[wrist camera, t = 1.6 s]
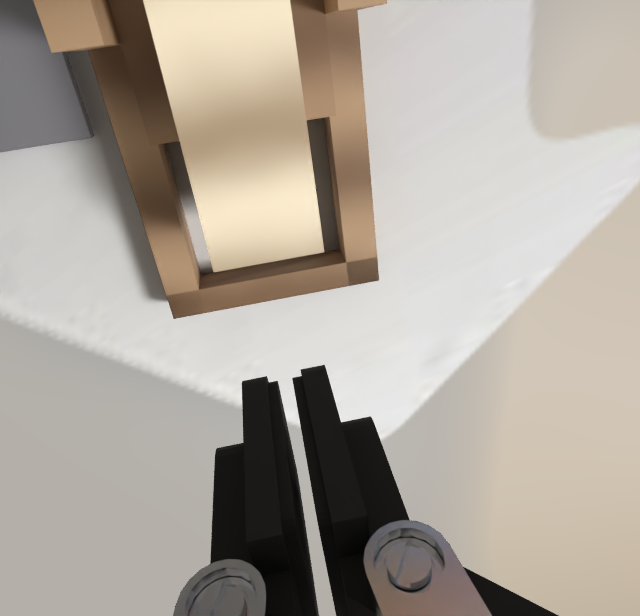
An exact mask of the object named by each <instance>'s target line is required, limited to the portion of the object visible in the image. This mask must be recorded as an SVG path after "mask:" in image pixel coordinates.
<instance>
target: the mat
mask: <svg viewBox="0 0 640 616" xmlns="http://www.w3.org/2000/svg"><path fill="white" fill-rule="evenodd" d="M93 136H94V134H93V131H92V128H91V125H90V122H89V119H88V116H87V113H86V111H85V108H84V105H83V102H82V99H81V96H80V93H79V90H78V87H77V84H76V81H75V78H74V75H73V72H72V69H71V66H70V63H69V60H68V57H67V55H66V52H56V53H52V52H51V50H50V47H49V44H48V41H47V38H46V35H45V32H44V30H43V27H42V24H41V21H40V18H39V15H38V13H37V10H36V7H35V4H34V1H33V0H0V152H5V151H11V150H17V149H24V148H30V147H36V146H42V145H49V144H55V143H61V142H67V141H73V140H80V139H86V138H91V137H93Z"/></svg>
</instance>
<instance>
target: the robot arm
mask: <svg viewBox="0 0 640 616" xmlns="http://www.w3.org/2000/svg"><path fill="white" fill-rule="evenodd" d="M301 374H302V376H300V377H295V378H293V384H294V390H295V396H296V401H297V407H298V413H299V418H300V424H301V430H302V435H303V441H304V447H305V452H306V458H307V464H308V470H309V475H310V481H311V487H312V493H313V498H314V504H315V509H316V515H317V521H318V526H319V531H320V536H321V542H322V546H323V551H324V556H325V561H326V566H327V571H328V576H329V581H330V586H331V591H332V596H333V601H334V606H335V611H336V616H558V615H556V614H554V613H552V612H550V611H548V610H546V609H544V608H542V607H540V606H538V605H536V604H534V603H533V602H531V601H529V600H527V599H525V598H523V597H521V596H519V595H517V594H515V593H513V592H511V591H509V590H507V589H505V588H503V587H501V586H499V585H497V584H496V583H494V582H492V581H490V580H488V579H486V578H484V577H482V576H480V575H478V574H476V573H474V572H472V571H470V570H468V569H466V568H464V567H463V566H462V565H461V563H460V561H459V560H458V558H457V556H456V555H455V553H454V551H453V550H452V548H451V546H450V544H449V543H448V542H447V541H446V539H445V538H444V537H443V536H442V535H441V533H439V532H438V531H436V530H435V529H434V528H432V527H431V526H429V525H426V524H423V523H421V522H418V521H410V520H409V517H408V515H407V512H406V509H405V506H404V504H403V501H402V499H401V496H400V493H399V490H398V487H397V485H396V482H395V479H394V477H393V474H392V471H391V468H390V466H389V463H388V461H387V458H386V455H385V452H384V449H383V446H382V444H381V441H380V438H379V436H378V433H377V430H376V427H375V425H374V422H373V420H372V418H371V417H366V418H361V419H356V420H351V421H347V422H342V423H341V421H340V418H339V414H338V410H337V407H336V403H335V400H334V396H333V393H332V389H331V386H330V382H329V378H328V375H327V371H326V368H325V365H322V366H317V367H312V368H307V369H302V370H301ZM242 403H243V440H244V443H241V444H236V445H231V446H226V447H221V448H217V449H216V454H215V471H214V493H213V519H212V541H211V563H210V565H208V566H206V567H204V568H202V569H201V570H199V571H198V572H197V573H196V574H195V575H194V576H193V577H192V578H191V579H190V580H189V581H188V582H187V584H186V585H185V587H184V588H183V590H182V591H181V592H180V595H179V598H178V601H177V603H176V606H175V610H174V614H173V616H319V614H318V608H317V601H316V594H315V587H314V580H313V573H312V567H311V560H310V554H309V546H308V540H307V533H306V527H305V520H304V513H303V506H302V500H301V493H300V486H299V480H298V474H297V469H296V464H295V460H294V455H293V450H292V445H291V441H290V436H289V432H288V427H287V422H286V417H285V413H284V408H283V404H282V399H281V394H280V390H279V385H278V381H275V382H270V383H269V382H268V379H267V376H266V377H261V378H256V379H251V380H246V381H242Z"/></svg>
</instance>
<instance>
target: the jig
mask: <svg viewBox="0 0 640 616" xmlns="http://www.w3.org/2000/svg"><path fill="white" fill-rule="evenodd" d="M33 1H34V4H35V7H36V10H37V13H38V15H39V18H40V21H41V24H42V27H43V30H44V32H45V35H46V38H47V41H48V44H49V47H50V50H51V52H52V53H56V52H69V51H81V50H88V52H89V55H90V58H91V61H92V64H93V67H94V70H95V73H96V77H97V80H98V83H99V86H100V89H101V92H102V95H103V99H104V102H105V105H106V108H107V111H108V114H109V117H110V120H111V124H112V127H113V130H114V133H115V136H116V139H117V142H118V146H119V149H120V152H121V155H122V158H123V161H124V164H125V167H126V171H127V174H128V177H129V180H130V183H131V186H132V189H133V193H134V196H135V199H136V202H137V205H138V208H139V211H140V214H141V218H142V221H143V224H144V227H145V230H146V233H147V236H148V240H149V243H150V246H151V249H152V252H153V255H154V258H155V261H156V265H157V268H158V271H159V274H160V277H161V280H162V283H163V287H164V290H165V293H166V296H167V299H168V302H169V305H170V308H171V312H172V315H173V318H174V319H175V318H181V317H186V316H191V315H197V314H202V313H207V312H213V311H218V310H223V309H229V308H234V307H239V306H244V305H250V304H255V303H260V302H266V301H271V300H276V299H282V298H287V297H292V296H298V295H303V294H308V293H314V292H319V291H324V290H330V289H335V288H340V287H346V286H351V285H356V284H362V283H367V282H372V281H378V280H379V275H378V263H377V250H376V238H375V225H374V213H373V200H372V188H371V175H370V163H369V151H368V138H367V126H366V113H365V101H364V88H363V76H362V63H361V51H360V38H359V26H358V14H357V10H360V9H364V8H368V7H373V6H377V5H382V4H386V3H387V0H290V3H291V10H292V18H293V25H294V33H295V40H296V47H297V55H298V62H299V69H300V77H301V84H302V91H303V99H304V106H305V113H306V120H312V119H318V118H324V122H325V131H326V139H327V147H328V156H329V164H330V173H331V181H332V189H333V198H334V206H335V214H336V223H337V231H338V240H339V248H340V250H335V251H329V252H324V253H318V254H313V255H307V256H302V257H296V258H291V259H285V260H280V261H274V262H269V263H263V264H258V265H252V266H247V267H241V268H236V269H230V270H225V271H220V272H214V273H209V274H203V275H201V274H200V270H199V266H198V263H197V259H196V255H195V252H194V248H193V245H192V241H191V237H190V234H189V230H188V226H187V223H186V219H185V215H184V212H183V208H182V204H181V201H180V197H179V193H178V190H177V186H176V183H175V179H174V175H173V172H172V168H171V164H170V161H169V157H168V153H167V150H166V146H165V143H171V142H177V141H179V137H178V133H177V129H176V125H175V122H174V118H173V114H172V110H171V106H170V102H169V98H168V95H167V91H166V87H165V83H164V79H163V75H162V71H161V68H160V64H159V60H158V56H157V52H156V48H155V44H154V41H153V37H152V33H151V29H150V25H149V21H148V18H147V14H146V10H145V6H144V2H143V0H33Z"/></svg>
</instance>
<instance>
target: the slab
mask: <svg viewBox="0 0 640 616" xmlns="http://www.w3.org/2000/svg"><path fill="white" fill-rule="evenodd" d="M143 2H144V6H145V10H146V14H147V18H148V21H149V25H150V29H151V33H152V37H153V41H154V44H155V48H156V52H157V56H158V60H159V64H160V68H161V71H162V75H163V79H164V83H165V87H166V91H167V95H168V98H169V102H170V106H171V110H172V114H173V118H174V122H175V125H176V129H177V133H178V137H179V141H180V145H181V148H182V152H183V156H184V160H185V164H186V168H187V172H188V175H189V179H190V183H191V187H192V191H193V195H194V199H195V202H196V206H197V210H198V214H199V218H200V222H201V226H202V229H203V233H204V237H205V241H206V245H207V249H208V252H209V256H210V260H211V264H212V268H213V272H218V271H224V270H229V269H235V268H240V267H246V266H251V265H257V264H262V263H268V262H273V261H279V260H284V259H290V258H295V257H301V256H306V255H312V254H317V253H323V252H324V246H323V238H322V231H321V224H320V216H319V209H318V202H317V194H316V187H315V180H314V172H313V165H312V158H311V150H310V143H309V135H308V128H307V121H306V113H305V106H304V99H303V91H302V84H301V77H300V69H299V62H298V55H297V47H296V40H295V33H294V25H293V18H292V10H291V3H290V0H143Z"/></svg>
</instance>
